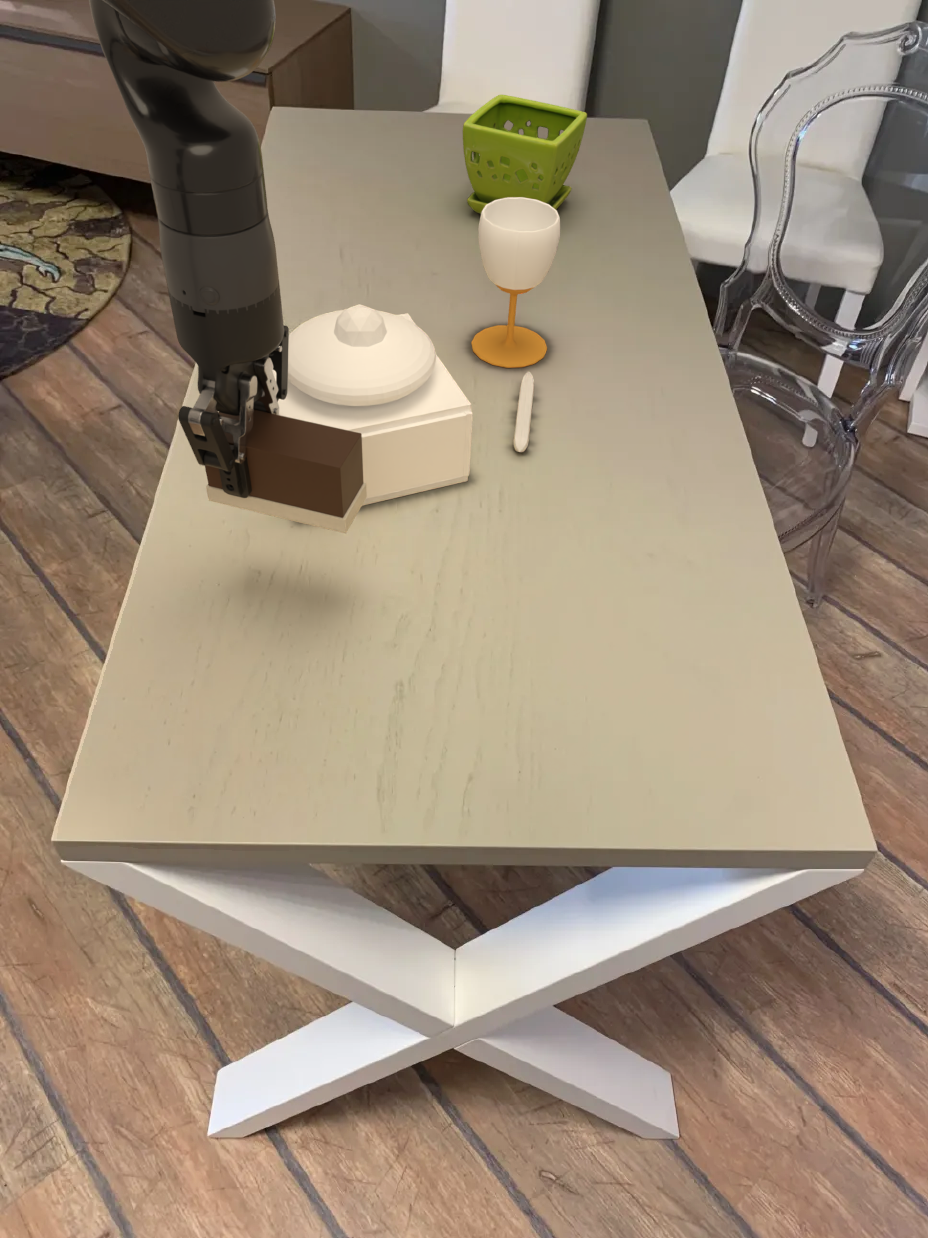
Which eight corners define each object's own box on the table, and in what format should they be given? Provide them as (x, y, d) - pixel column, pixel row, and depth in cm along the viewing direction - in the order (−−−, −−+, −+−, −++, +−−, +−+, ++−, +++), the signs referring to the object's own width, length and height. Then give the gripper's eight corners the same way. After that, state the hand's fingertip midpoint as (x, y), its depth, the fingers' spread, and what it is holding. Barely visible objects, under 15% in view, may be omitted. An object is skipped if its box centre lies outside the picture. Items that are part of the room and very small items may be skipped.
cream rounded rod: (534, 381, 108) (536, 369, 107) (526, 457, 98) (528, 444, 97) (521, 380, 108) (522, 367, 107) (511, 455, 99) (513, 442, 97)
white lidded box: (300, 520, 90) (284, 377, 79) (254, 414, 101) (234, 275, 90) (469, 481, 95) (477, 341, 84) (408, 384, 106) (407, 249, 95)
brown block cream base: (208, 500, 77) (195, 435, 72) (234, 466, 80) (223, 401, 76) (346, 533, 75) (342, 469, 70) (366, 496, 78) (364, 432, 74)
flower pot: (546, 240, 131) (557, 144, 122) (455, 217, 134) (458, 123, 125) (579, 200, 140) (591, 109, 131) (492, 181, 143) (498, 90, 134)
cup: (547, 330, 115) (563, 198, 103) (546, 371, 109) (562, 237, 97) (474, 323, 116) (481, 192, 104) (468, 364, 110) (475, 230, 98)
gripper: (219, 223, 70) (247, 416, 82) (118, 318, 60) (167, 519, 73) (314, 241, 68) (328, 434, 81) (226, 340, 59) (257, 541, 72)
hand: (252, 473), depth 77 cm, fingers closed on brown block cream base, 4 cm apart
